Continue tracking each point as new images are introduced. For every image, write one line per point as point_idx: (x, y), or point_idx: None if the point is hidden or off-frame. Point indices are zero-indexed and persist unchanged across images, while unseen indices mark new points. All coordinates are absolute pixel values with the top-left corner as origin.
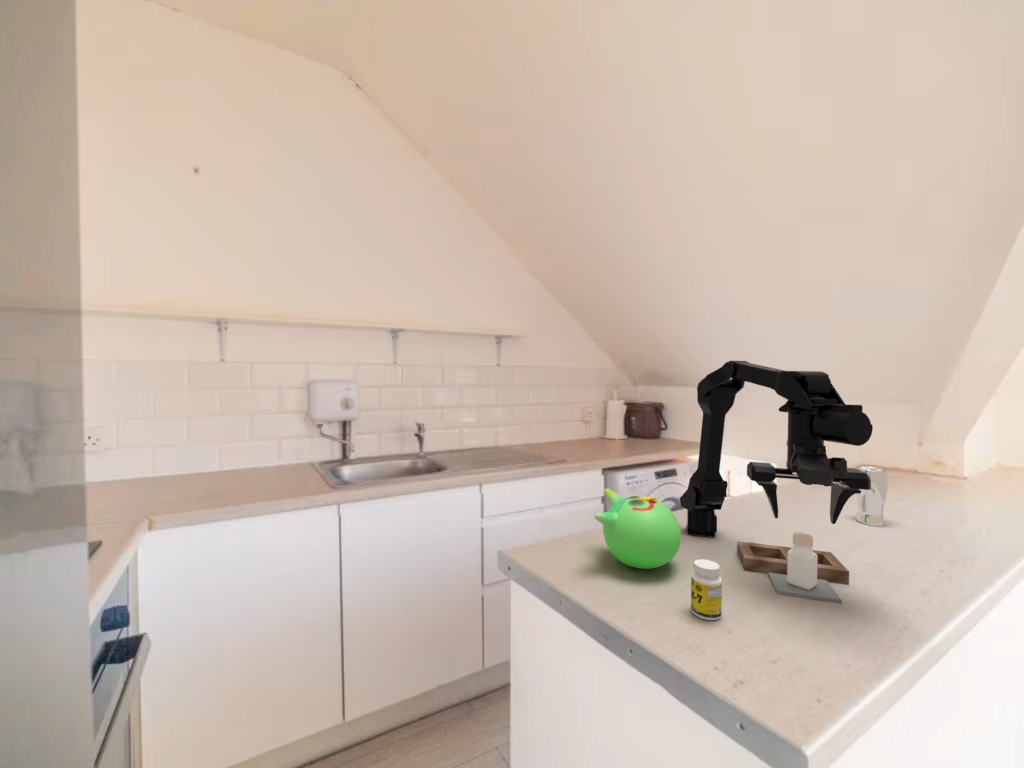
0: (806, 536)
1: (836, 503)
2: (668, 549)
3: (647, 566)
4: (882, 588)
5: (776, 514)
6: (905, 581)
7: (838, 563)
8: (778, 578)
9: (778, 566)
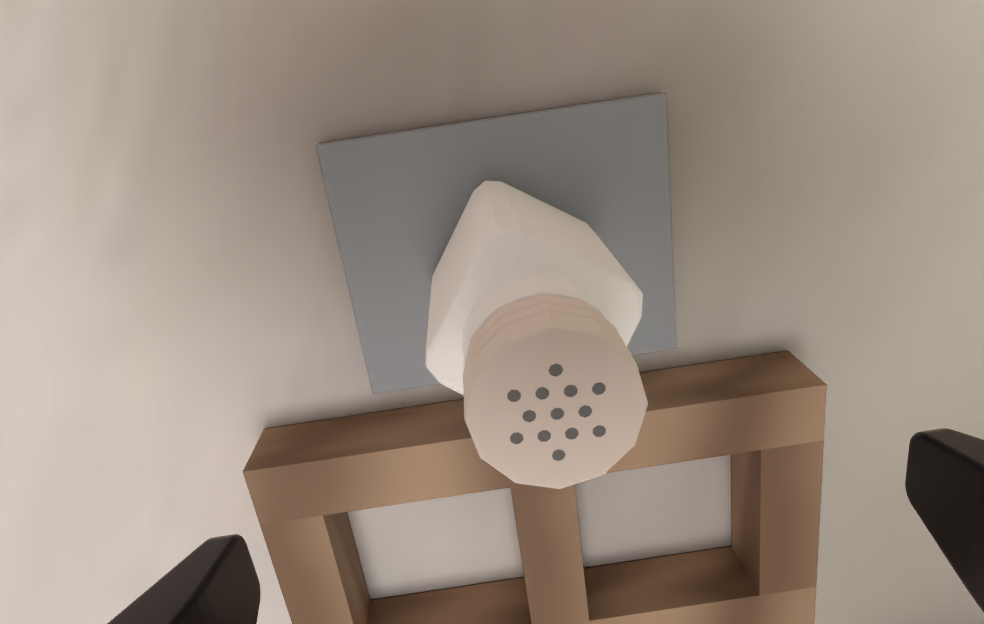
0: (529, 378)
1: None
2: None
3: None
4: (109, 460)
5: (979, 448)
6: (5, 600)
7: (291, 563)
8: None
9: None
